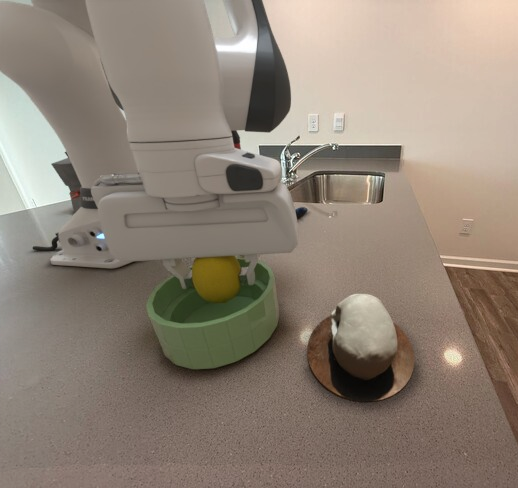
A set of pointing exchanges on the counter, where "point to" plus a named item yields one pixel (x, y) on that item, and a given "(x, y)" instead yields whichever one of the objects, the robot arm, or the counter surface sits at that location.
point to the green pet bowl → (214, 320)
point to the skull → (360, 351)
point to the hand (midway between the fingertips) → (220, 284)
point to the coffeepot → (69, 179)
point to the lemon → (216, 278)
